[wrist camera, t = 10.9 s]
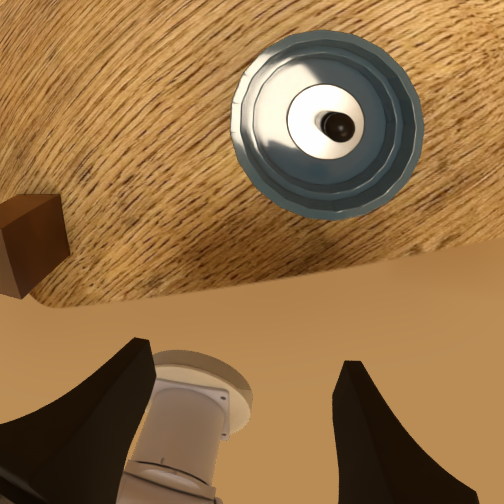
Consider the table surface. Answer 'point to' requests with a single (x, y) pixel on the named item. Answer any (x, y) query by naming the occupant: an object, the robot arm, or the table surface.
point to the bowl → (327, 171)
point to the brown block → (30, 241)
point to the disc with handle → (325, 121)
